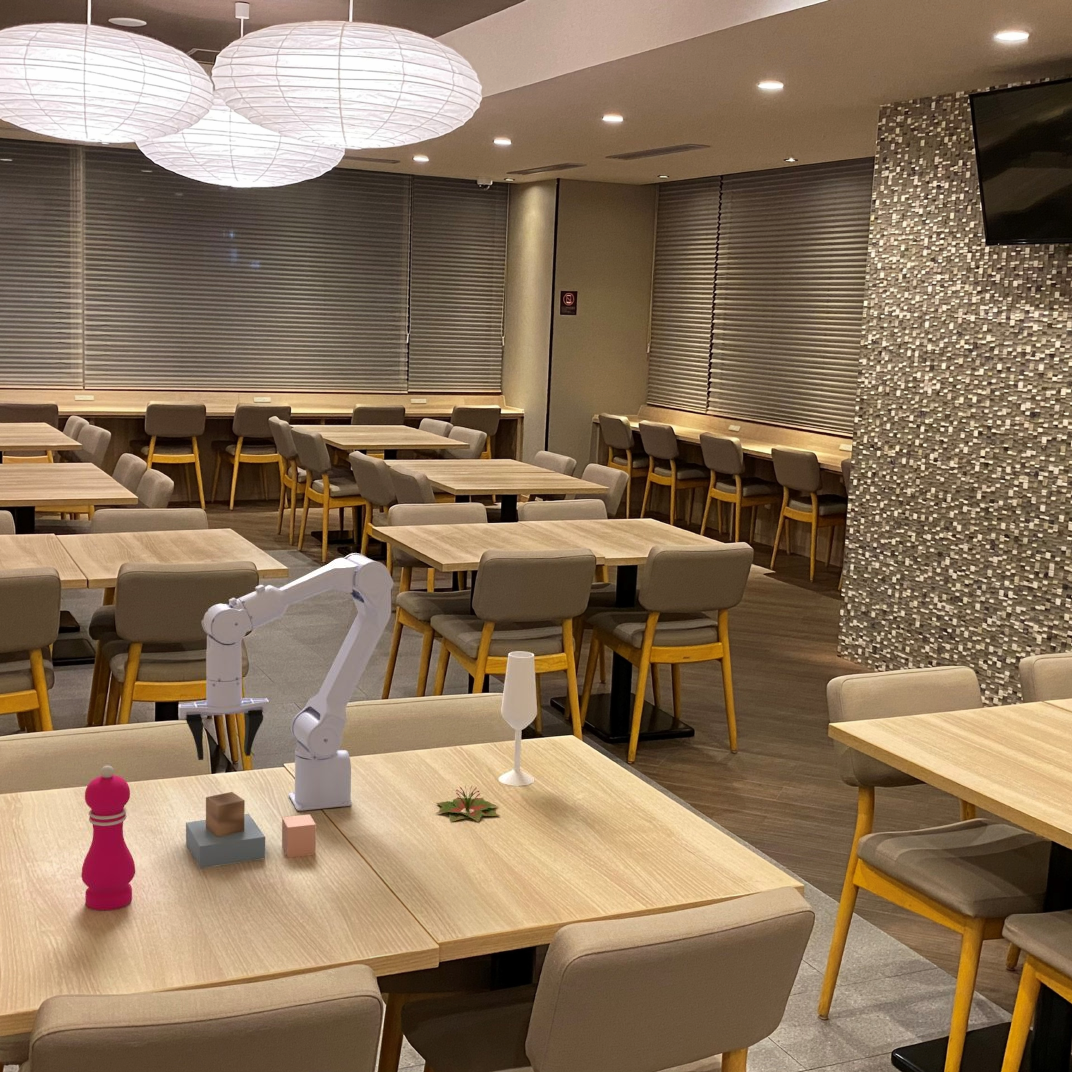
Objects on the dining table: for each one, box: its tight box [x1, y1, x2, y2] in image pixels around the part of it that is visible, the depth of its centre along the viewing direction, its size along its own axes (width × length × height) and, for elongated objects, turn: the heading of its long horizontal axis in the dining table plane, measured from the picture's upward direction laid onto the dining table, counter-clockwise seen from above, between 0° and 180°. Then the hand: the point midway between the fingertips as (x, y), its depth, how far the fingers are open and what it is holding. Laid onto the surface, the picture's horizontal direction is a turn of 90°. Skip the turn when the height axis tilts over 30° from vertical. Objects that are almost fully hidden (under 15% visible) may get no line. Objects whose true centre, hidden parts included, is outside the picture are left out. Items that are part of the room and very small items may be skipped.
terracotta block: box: [281, 814, 317, 859], centre depth 197 cm, size 4×4×5 cm
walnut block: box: [205, 791, 246, 837], centre depth 196 cm, size 4×4×5 cm
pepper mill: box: [80, 765, 136, 911], centre depth 176 cm, size 7×7×20 cm
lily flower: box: [435, 785, 500, 823], centre depth 217 cm, size 12×12×5 cm
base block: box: [185, 813, 266, 869], centre depth 196 cm, size 10×10×4 cm
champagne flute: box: [498, 650, 538, 787], centre depth 232 cm, size 7×7×24 cm
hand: (223, 756), depth 209 cm, fingers open, 7 cm apart
